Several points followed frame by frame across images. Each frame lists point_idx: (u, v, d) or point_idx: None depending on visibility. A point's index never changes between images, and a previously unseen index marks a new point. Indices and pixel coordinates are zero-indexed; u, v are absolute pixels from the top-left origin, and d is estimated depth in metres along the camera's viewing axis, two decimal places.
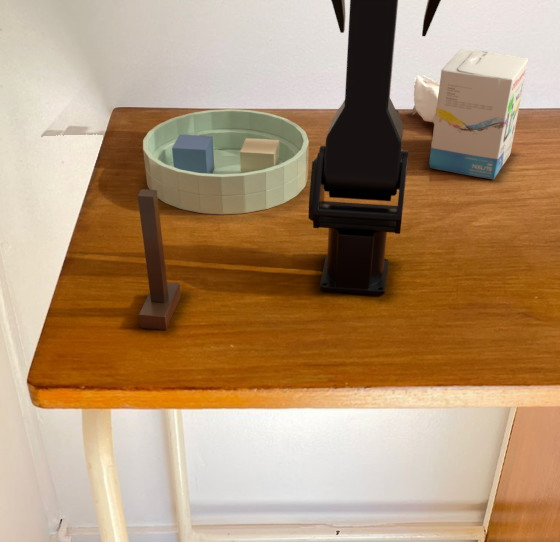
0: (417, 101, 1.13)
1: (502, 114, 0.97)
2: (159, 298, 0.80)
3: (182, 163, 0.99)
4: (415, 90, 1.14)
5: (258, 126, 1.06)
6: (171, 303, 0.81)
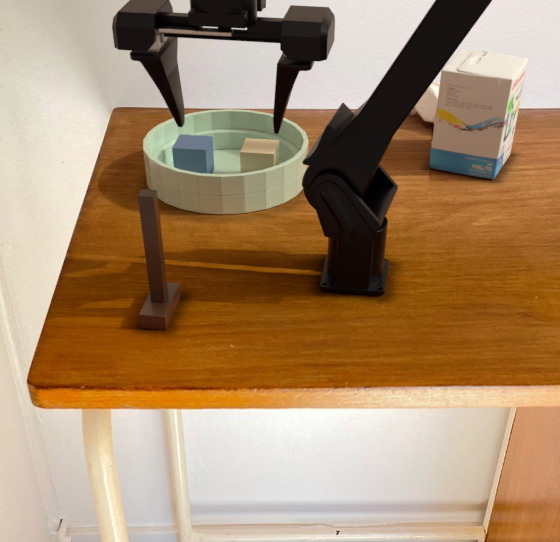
0: None
1: (502, 114, 0.97)
2: (159, 298, 0.80)
3: (182, 163, 0.99)
4: None
5: (258, 126, 1.06)
6: (171, 303, 0.81)
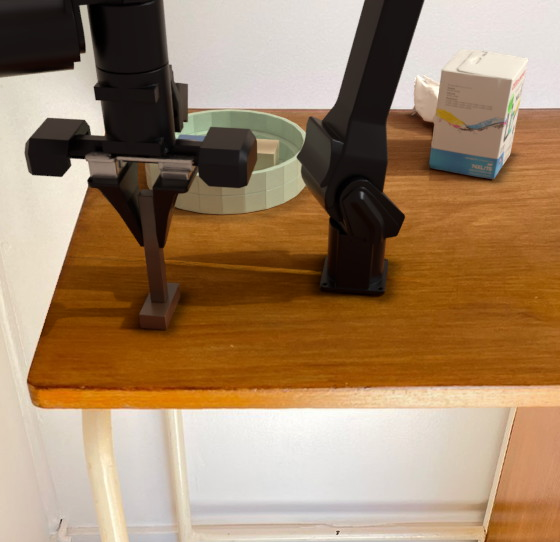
0: (417, 101, 1.13)
1: (502, 114, 0.97)
2: (159, 298, 0.80)
3: None
4: (415, 90, 1.14)
5: (258, 126, 1.06)
6: (171, 303, 0.81)
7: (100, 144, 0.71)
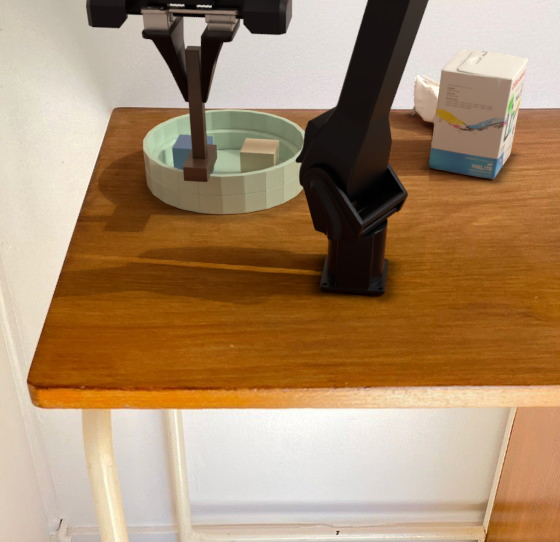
0: (417, 101, 1.13)
1: (502, 114, 0.97)
2: (200, 154, 0.89)
3: (182, 163, 0.99)
4: (415, 90, 1.14)
5: (258, 126, 1.06)
6: (210, 159, 0.89)
7: None
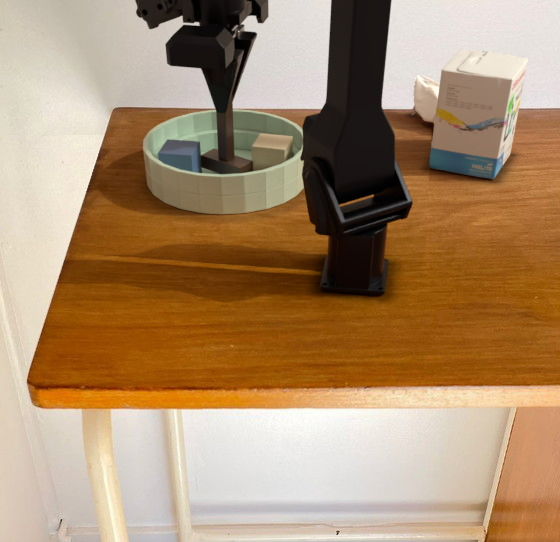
0: (417, 101, 1.13)
1: (502, 114, 0.97)
2: (232, 155, 1.00)
3: None
4: (415, 90, 1.14)
5: (258, 126, 1.06)
6: (236, 156, 1.01)
7: None
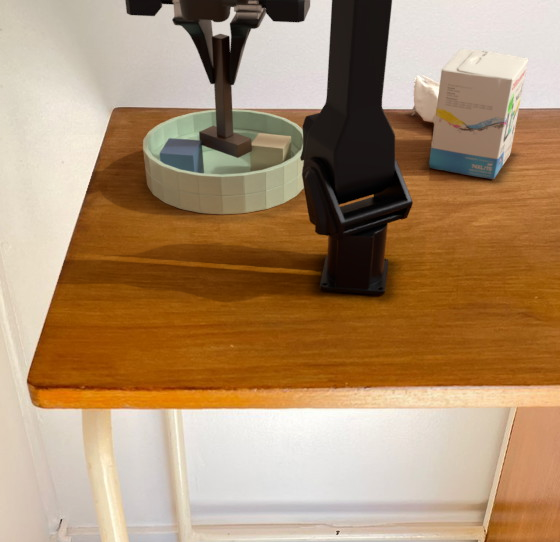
0: (417, 101, 1.13)
1: (502, 114, 0.97)
2: (230, 132, 0.98)
3: None
4: (415, 90, 1.14)
5: (258, 126, 1.06)
6: (235, 133, 0.99)
7: None
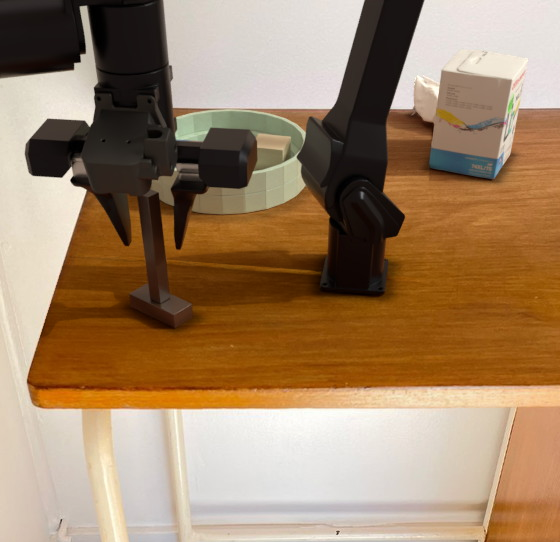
0: (417, 101, 1.13)
1: (502, 114, 0.97)
2: (166, 296, 0.81)
3: None
4: (415, 90, 1.14)
5: (258, 126, 1.06)
6: (173, 296, 0.82)
7: None
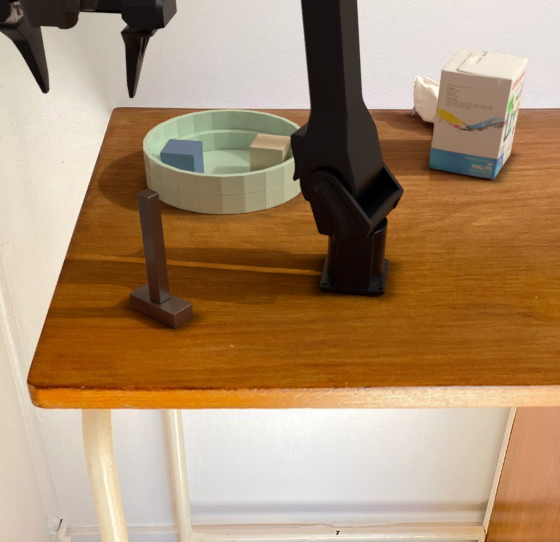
0: (417, 101, 1.13)
1: (502, 114, 0.97)
2: (166, 296, 0.81)
3: None
4: (415, 90, 1.14)
5: (258, 126, 1.06)
6: (173, 296, 0.82)
7: None
